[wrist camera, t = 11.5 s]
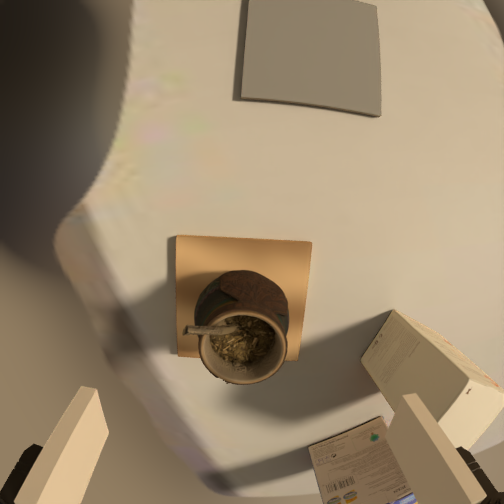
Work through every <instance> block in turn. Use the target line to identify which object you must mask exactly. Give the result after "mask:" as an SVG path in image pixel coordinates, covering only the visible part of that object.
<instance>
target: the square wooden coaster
mask: <svg viewBox="0 0 504 504" xmlns="http://www.w3.org/2000/svg"><path fill="white" fill-rule="evenodd" d="M311 251H312V243H311V242H307V241H290V240H272V239H253V238H234V237H213V236H193V235H177V236H176V321H177V349H178V356H179V357H192V358H200V355H199V349H198V342H199V338H198V336H197V335H192V334H190V335H184V336H183V335H182V332H183V329H184V328H185V326H186V325H194V326H195V324H194V311H195V306H196V303H197V301H198V298H199V295H200V294H201V293H202V291H203V290H204V289H205V288H206V286H207V285H208V284H210V283H211V282H212V281H213V280H215V279H216V278H218V277H219V276H221V275H222V274H224V273H226V272H229V271H232V270H250V271H254V272H257V273H259V274H261V275H263V276H265V277H266V278H268V279H270V280H272V281H273V282H275V283H276V284H277V285H278V286H279V287H280V288H281V289H282V290H283V292H284V294H285V296H286V298H287V301H288V309H289V329H288V333H287V336H286V337H287V341H288V348H287V355H286V359H285V361H298V356H299V349H300V342H301V335H302V327H303V320H304V312H305V304H306V296H307V288H308V279H309V270H310V261H311Z"/></svg>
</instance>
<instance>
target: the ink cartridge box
mask: <svg viewBox="0 0 504 504" xmlns="http://www.w3.org/2000/svg"><path fill="white" fill-rule="evenodd" d="M388 428H389V427H388V425H387V424H386V422H385V420H384V418H383V416H381V417H379V418H377V419H374V420H372V421H370V422H368V423H366V424H364V425H361V426H359V427H357V428H355V429H353V430H350V431H348V432H346V433H343V434H341V435H338V436H336V437H333V438H331V439H328V440H326V441H323V442H320V443H318V444H315V445H312V446H310V447H308V450H309V454H310V457H311V461H312V464H313V468H314V472H315V476H316V480H317V483H318V487H319V491H320V494H321V497H322V501H323V504H418V502H417V500H416V498H415V496H414V494H413V492H412V490H411V488H410V486H409V484H408V482H407V480H406V478H405V476H404V474H403V472H402V470H401V468H400V466H399V464H398V462H397V460H396V458H395V456H394V454H393V452H392V450H391V448H390V446H389V444H388V442H387V440H386V438H385V435H386V433H387V431H388Z"/></svg>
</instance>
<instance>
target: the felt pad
mask: <svg viewBox="0 0 504 504" xmlns="http://www.w3.org/2000/svg"><path fill="white" fill-rule="evenodd" d="M241 99H251V100H265V101H276V102H286V103H295V104H303V105H311V106H318V107H325V108H331V109H338V110H344V111H349V112H355V113H360V114H365V115H371V116H375V117H380V116H381V63H380V43H379V29H378V17H377V7H376V6H374V5H370V4H367V3H363V2H359V1H355V0H249V7H248V18H247V29H246V41H245V53H244V65H243V78H242V91H241Z"/></svg>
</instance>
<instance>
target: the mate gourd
mask: <svg viewBox="0 0 504 504" xmlns="http://www.w3.org/2000/svg"><path fill="white" fill-rule="evenodd" d="M194 324H195V326H194V325H186V326H185V328H184V329H183V332H182V335H183V336H184V335H190V334H192V335H197V336H198V338H199V342H198V349H199V355H200V358H201V360H202V362H203V364H204V365H205V367H206V368H207V369H208V370H209V372H210V373H212V374H213V375H214V376H215V377H216V378H218V377H219V378H220V379H223V381H224V380H225V382H228V383H232V384H237V385H238V384H239V385H246V384H247V385H248V384H254V383H258V382H261V381H263V380H266V379H267V378H269V377H271V376H272V375H274V374H275V373H276V372H277V371H278V370H279V369H280V368H281V366H282V365H283V363H284V361H285V359H286V355H287V348H288V341H287V337H286V336H287V333H288V329H289V309H288V301H287V298H286V296H285V294H284V292H283V290H282V289H281V288H280V287H279V286H278V285H277V284H276V283H275V282H273V281H272V280H270V279H268V278H266V277H265V276H263V275H261V274H259V273H257V272H254V271H250V270H232V271H229V272H226V273H224V274H222V275H221V276H219V277H218V278H216V279H215V280H213V281H212V282H211V283H210V284H208V285H207V286H206V288H205V289H204V290H203V291H202V293H201V294H200V295H199V298H198V301H197V303H196V306H195V311H194ZM228 383H226V384H228Z"/></svg>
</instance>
